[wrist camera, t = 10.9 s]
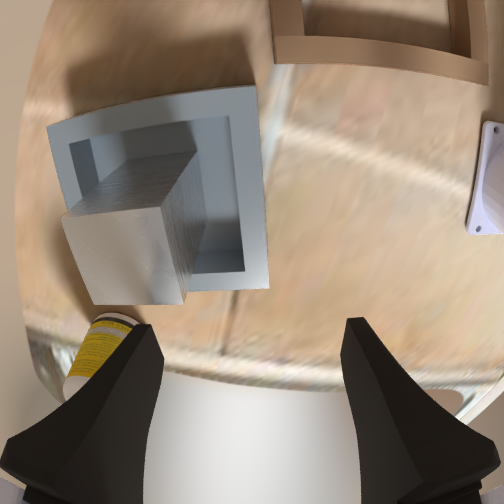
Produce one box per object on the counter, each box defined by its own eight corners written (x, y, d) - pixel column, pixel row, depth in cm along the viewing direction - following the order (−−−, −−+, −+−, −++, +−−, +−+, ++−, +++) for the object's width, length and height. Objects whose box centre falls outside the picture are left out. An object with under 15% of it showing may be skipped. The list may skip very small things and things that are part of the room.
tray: (256, 83, 14) (255, 86, 12) (267, 257, 20) (269, 288, 17) (74, 115, 15) (46, 126, 12) (114, 265, 20) (98, 293, 18)
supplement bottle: (82, 312, 23) (34, 410, 15) (136, 306, 22) (95, 420, 14) (111, 355, 26) (79, 448, 18) (163, 353, 25) (138, 457, 17)
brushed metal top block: (197, 150, 16) (159, 206, 10) (207, 219, 18) (183, 304, 12) (126, 160, 16) (59, 218, 10) (141, 225, 18) (94, 304, 12)
